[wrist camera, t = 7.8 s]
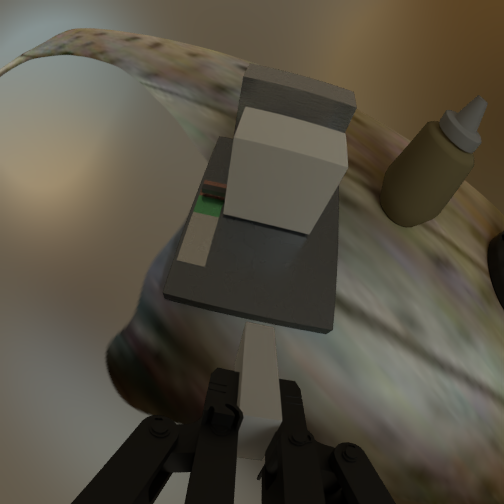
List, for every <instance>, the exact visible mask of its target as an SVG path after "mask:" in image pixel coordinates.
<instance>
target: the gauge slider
mask: <svg viewBox="0 0 504 504" xmlns="http://www.w3.org/2000/svg"><path fill="white" fill-rule="evenodd" d="M347 169H348V157H347V143H346V134H345V133H342V132H339V131H336V130H333V129H330V128H327V127H323V126H320V125H317V124H313V123H310V122H306V121H303V120H299V119H295V118H292V117H288V116H284V115H280V114H276V113H272V112H268V111H264V110H259V109H255V108H250V107H245V109H244V112H243V114H242V117H241V120H240V122H239V125H238V128H237V130H236V133H235V136H234V140H233V147H232V154H231V160H230V167H229V175H228V182H227V189H226V188H222V187H217V186H213V185H208V184H203V186H202V193H207V194H211V195H216V196H220V197H225V204H224V212H223V214H226V215H230V216H235V217H239V218H243V219H247V220H252V221H256V222H260V223H264V224H268V225H272V226H277V227H281V228H285V229H289V230H293V231H297V232H301V233H305V234H310V232H311V231H312V229H313V227H314V226H315V224H316V222H317V221H318V219H319V217H320V216H321V214H322V212H323V210H324V209H325V207H326V205H327V204H328V202H329V200H330V199H331V197H332V195H333V193H334V192H335V190H336V188H337V186H338V185H339V183H340V181H341V179H342V178H343V176H344V174H345V172H346V171H347Z"/></svg>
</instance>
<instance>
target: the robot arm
mask: <svg viewBox="0 0 504 504" xmlns="http://www.w3.org/2000/svg"><path fill="white" fill-rule="evenodd" d="M488 263H489V270H490V274H491V278H492V282H493V285H494V288H495V291H496V293H497V296H498V298H499V300H500V302H501V304H502V306H503V308H504V231H503V232H501V233H500V234H498V235H497V236H496V237H495V238H493V239H492V241H491V242H490V244H489V249H488ZM301 398H302V396H301V390H300V388H299V387H298V385H297V384H296V382H295V381H290V380H283V379H279V375H278V364H277V353H276V342H275V331H274V327H269V326H264V325H260V324H255V323H250V322H246V324H245V327H244V331H243V335H242V338H241V342H240V346H239V349H238V353H237V356H236V360H235V366H234V371H231V370H226V369H222V368H217V369H216V370H215V371H214V372H213V373H212V374H211V378H210V382H209V387H208V391H207V395H206V400H205V405H204V410H203V414H202V417H201V418H200V419H199V420H198V421H196V422H194V423H191V424H176V423H175V422H174V421H172V420H171V419H169V418H168V417H164V416H161V415H153V416H149V417H147V418H145V419H144V420H143V421H142V422H141V423H140V424H139V425H138V427H137V428H136V429H135V430H134V431H133V433H132V434H131V435H130V436H129V438H128V439H127V440H126V441H125V442H124V443H123V444H122V446H121V447H120V448H119V449H118V450H117V451H116V453H115V454H114V455H113V456H112V457H111V458H110V460H109V461H108V462H107V463H106V464H105V465H104V467H103V468H102V469H101V470H100V471H99V472H98V473H97V475H96V476H95V477H94V478H93V479H92V481H91V482H90V483H89V484H88V485H87V486H86V488H84V489H83V491H82V492H81V493H80V494H79V495H78V496H77V497H76V499H75V500H74V501H73V502H72V503H71V504H153V503H154V501H155V500H156V498H157V497H158V495H159V494H160V492H161V491H162V489H163V487H164V486H165V484H166V483H167V481H168V480H169V478H170V476H171V475H172V473H173V472H191V473H190V478H189V483H188V488H187V494H186V499H185V504H234V489H235V474H236V459H237V457H239V458H246V459H253V460H262V459H263V457H264V455H265V464H264V466H263V468H262V470H261V471H260V473H259V475H258V477H257V480H260V478H261V477H262V504H396V503H395V502H394V500H393V498H392V497H391V495H390V493H389V492H388V490H387V489H386V487H385V485H384V484H383V482H382V480H381V479H380V477H379V475H378V474H377V472H376V471H375V469H374V467H373V466H372V464H371V462H370V461H369V459H368V457H367V456H366V454H365V452H364V451H363V450H362V449H361V448H360V447H359V446H357V445H356V444H353V443H349V442H348V443H341V444H338V445H337V447H336V448H334V447H330V446H327V445H324V444H321V443H319V442H317V441H316V440H315V439H314V437H313V435H312V434H311V433H310V432H309V431H308V430H307V426H306V420H305V414H304V408H303V402H302V399H301Z"/></svg>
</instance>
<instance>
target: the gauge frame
mask: <svg viewBox="0 0 504 504" xmlns="http://www.w3.org/2000/svg"><path fill="white" fill-rule="evenodd" d="M245 107H250V108H255V109H259V110H264V111H268V112H272V113H276V114H280V115H284V116H288V117H292V118H295V119H299V120H303V121H306V122H310V123H313V124H317V125H320V126H323V127H327V128H330V129H333V130H336V131H339V132H342V133H345V131H346V129H347V127H348V125H349V123H350V121H351V119H352V117H353V115H354V112H355V110H356V108H357V107H356V101H355V96H354V92H352V91H350V90H347V89H344V88H341V87H338V86H335V85H332V84H329V83H326V82H322V81H319V80H315V79H312V78H308V77H305V76H301V75H298V74H294V73H290V72H286V71H282V70H278V69H274V68H269V67H264V66H260V65H255V64H249V66H248V68H247V70H246V72H245V74H244V76H243V82H242V88H241V94H240V100H239V106H238V112H237V119H236V125H235V132H234V136H235V133H236V130H237V128H238V125H239V122H240V120H241V117H242V114H243V112H244V109H245ZM233 140H234V138H233V139H230V138H225V137H220V136H219V139H218V141H217V144H216V146H215V148H214V151H213V153H212V156H211V158H210V161H209V163H208V166H207V168H206V171H205V173H204V176H203V179H202V181H201V184H200V186H199V189H198V192H197V194H196V197H195V200H194V202H193V205H192V208H191V210H190V213H189V216H188V219H187V221H186V224H185V227H184V230H183V233H182V236H181V239H180V241H179V244H178V247H177V250H176V253H175V256H174V259H173V262H172V265H171V268H170V272H169V275H168V278H167V281H166V284H165V287H164V291H163V295H164V298H165V299H167V300H171V301H175V302H178V303H182V304H186V305H190V306H194V307H198V308H202V309H207V310H211V311H215V312H219V313H224V314H228V315H232V316H237V317H241V318H246V319H250V320H255V321H260V322H265V323H270V324H275V325H280V326H285V327H290V328H295V329H300V330H306V331H311V332H317V333H323V334H327V333H329V332H330V331H332V330H333V321H334V309H335V295H336V278H337V256H338V217H339V185H338V186H337V188H336V190H335V192H334V193H333V195H332V197H331V199H330V200H329V202H328V204H327V205H326V207H325V209H324V210H323V212H322V214H321V216H320V217H319V219H318V221H317V222H316V224H315V226H314V227H313V229H312V231H311V232H310V234H305V233H301V232H297V231H293V230H289V229H285V228H281V227H277V226H272V225H268V224H264V223H260V222H256V221H252V220H247V219H243V218H239V217H235V216H230V215H226V214H223V212H224V204H225V197H220V196H216V195H211V194H207V193H202V186H203V184H208V185H213V186H217V187H222V188H226V189H227V182H228V175H229V167H230V160H231V154H232V147H233Z"/></svg>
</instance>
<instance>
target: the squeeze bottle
mask: <svg viewBox="0 0 504 504" xmlns="http://www.w3.org/2000/svg"><path fill="white" fill-rule="evenodd" d="M486 107H487V102H486V101H485V100H484V99H483V98H482V97H481V96H479V95H478V96H477V97H476V98H475V99H474V100H472V101H471V102H470V103H469V104H468V105H467V106H466V107H464V108H463V109H462V110H461V111H460V112H459V113H456V112H454V111H452V110H446V112H445V113H444V115H443V116H442V118H441V119H440V122H438V121H431V122H428V123H427V124H426V125H425V126H424V127H423V128H422V130H421V131H420V132H419V133H418V134H417V135H416V137H415V138H414V139H413V140H412V141H411V142H410V144H409V145H408V146H407V147H406V148H405V149H404V150H403V152H402V153H401V154H400V155H399V156H398V157H397V158H396V160H395V161H394V162H393V163H392V164H391V165H390V166H389V168H388V170H387V171H386V173H385V177H384V182H383V186H382V190H381V195H380V203H381V205H382V208H383V210H384V211H385V213H386V214H387V215H388V217H389V218H390V219H391V220H393V221H394V222H395V223H397V224H398V225H401V226H403V227H413V226H416V225H418V224H421V223H424V222H426V221H429V220H431V219H433V218H435V217H436V216H437V215H438V214H439V213H440V212H441V211H442V209H443V208H444V207H445V205H446V204H447V203H448V201H449V200H450V199H451V197H452V196H453V195H454V193H455V192H456V191H457V189H458V188H459V187H460V185H461V184H462V182H463V181H464V180H465V178H466V177H467V175H468V174H469V172H470V171H471V170H472V168H473V167H474V156H473V152H474V151H475V150H476V149H477V148H478V146H479V145H480V144H481V137H480V135H479V133H478V132H477V129H478V127H479V124H480V122H481V119H482V117H483V114H484V112H485V109H486Z"/></svg>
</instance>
